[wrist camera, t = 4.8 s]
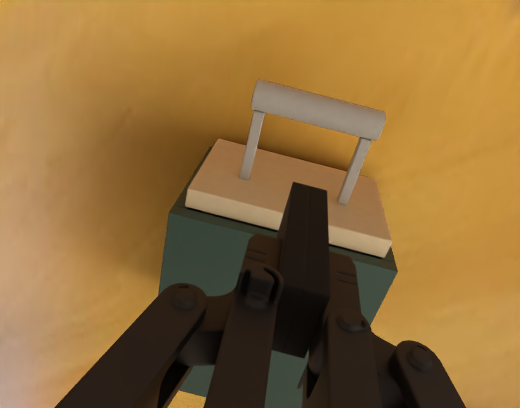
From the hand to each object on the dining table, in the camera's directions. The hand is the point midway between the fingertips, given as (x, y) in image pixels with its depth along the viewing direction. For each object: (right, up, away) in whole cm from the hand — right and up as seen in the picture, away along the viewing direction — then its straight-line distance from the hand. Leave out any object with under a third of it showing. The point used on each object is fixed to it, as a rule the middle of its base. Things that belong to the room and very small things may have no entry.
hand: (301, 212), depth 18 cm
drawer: (0, 0, +13) cm, 13 cm away
